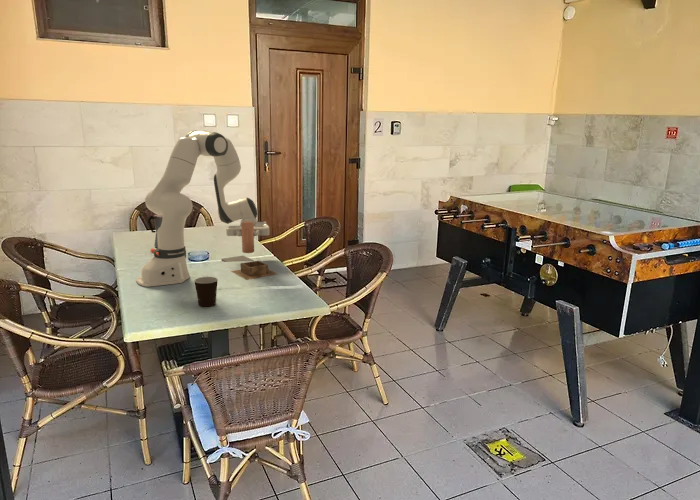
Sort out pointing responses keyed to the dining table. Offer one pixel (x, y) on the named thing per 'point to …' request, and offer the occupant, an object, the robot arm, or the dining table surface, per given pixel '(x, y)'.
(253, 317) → the dining table surface
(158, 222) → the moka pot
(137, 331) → the dining table surface
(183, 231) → the robot arm
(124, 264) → the dining table surface
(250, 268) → the jug stand
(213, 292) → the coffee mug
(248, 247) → the brown tall block piece
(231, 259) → the mat
